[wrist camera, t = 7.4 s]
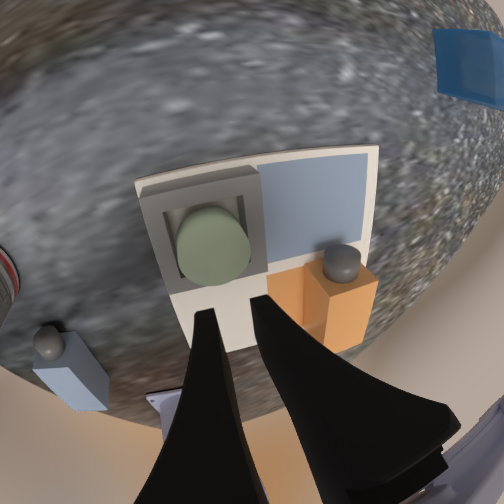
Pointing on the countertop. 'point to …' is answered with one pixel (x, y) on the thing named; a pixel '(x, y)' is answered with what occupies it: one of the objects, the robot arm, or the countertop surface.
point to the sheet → (284, 228)
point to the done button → (212, 246)
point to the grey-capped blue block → (70, 370)
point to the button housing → (196, 192)
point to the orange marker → (338, 298)
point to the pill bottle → (7, 285)
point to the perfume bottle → (470, 66)
